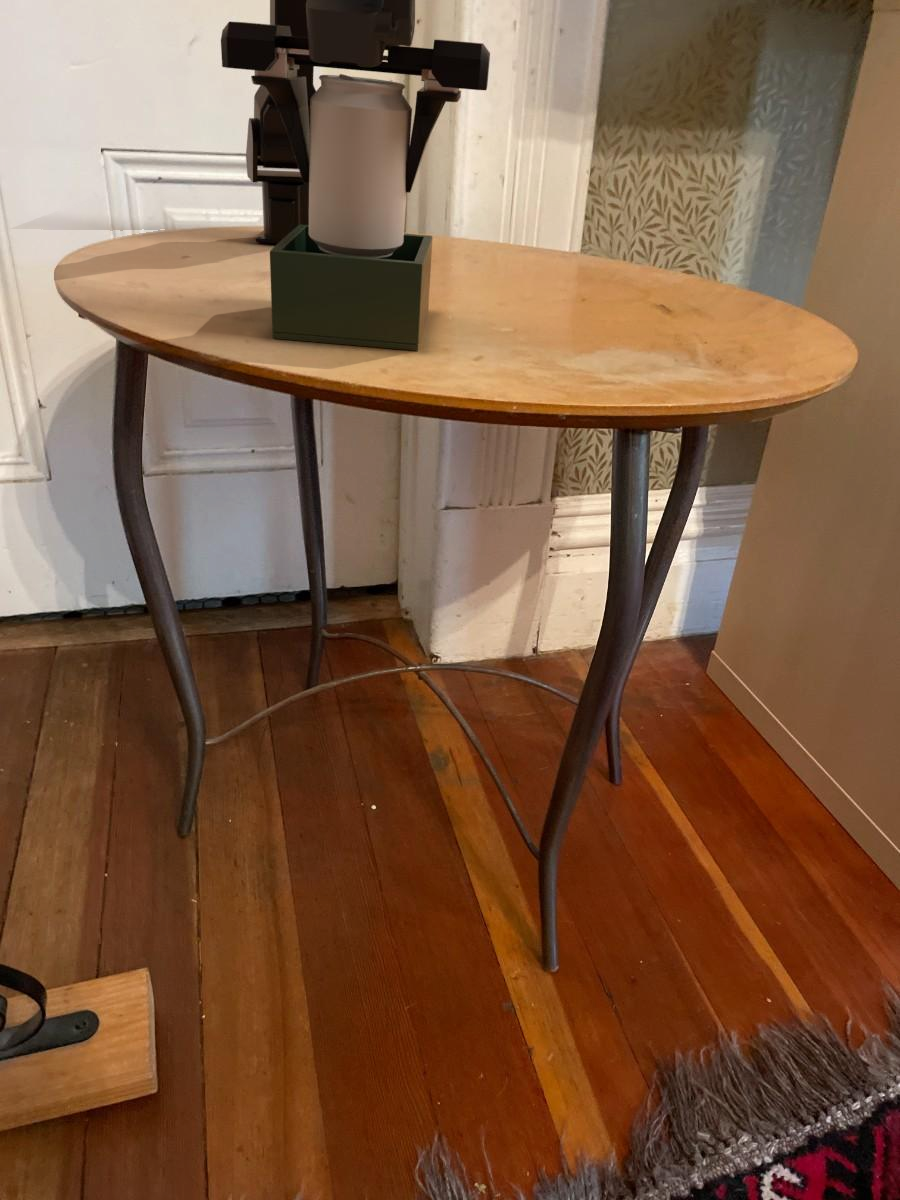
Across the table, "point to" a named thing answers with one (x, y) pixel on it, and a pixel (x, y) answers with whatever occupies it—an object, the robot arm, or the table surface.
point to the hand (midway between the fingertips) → (357, 187)
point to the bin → (350, 293)
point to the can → (358, 165)
